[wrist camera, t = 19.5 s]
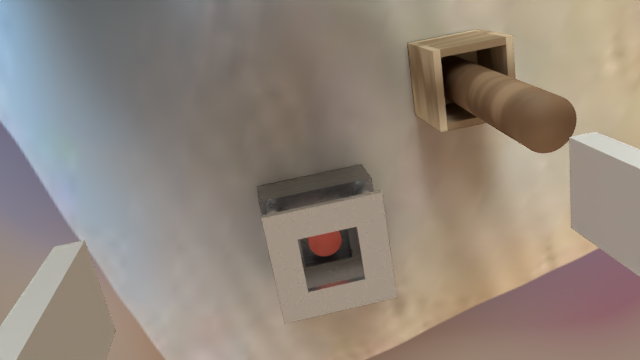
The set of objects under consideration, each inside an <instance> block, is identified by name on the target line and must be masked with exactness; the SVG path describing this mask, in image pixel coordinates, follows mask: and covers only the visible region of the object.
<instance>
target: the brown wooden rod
mask: <svg viewBox="0 0 640 360" xmlns="http://www.w3.org/2000/svg"><path fill="white" fill-rule="evenodd" d="M441 66H442V76H443V86H444V97H445V98H447V99H449V100H450V101H452V102H454V103H455V104H457V105H458V106H460V107H462V108H463V109H465V110H467V111H468V112H470V113H472V114H473V115H475V116H476V117H478V118H480V119H481V120H483V121H485V122H486V123H488V124H490V125H491V126H493V127H494V128H496V129H498V130H499V131H501V132H503V133H504V134H506V135H507V136H509V137H511V138H512V139H514V140H516V141H517V142H519V143H521V144H522V145H524V146H525V147H527V148H529V149H530V150H532V151H534V152H538V153H549V152H553V151H555V150H557V149H559V148H561V147H562V146H563V145H564V144H566V143H567V141H568V140H569V137H571V136H572V134H573V132H574V130H575V126H576V113H575V110H574V107H573V106H572V104H571V103H570V102H569V101H568V100H567V99H565V98H563V97H561V96H558V95H556V94H553V93H550V92H548V91H545V90H543V89H540V88H537V87H535V86H532V85H530V84H527V83H524V82H522V81H519V80H517V79H514V78H512V77H509V76H506V75H504V74H501V73H499V72H496V71H493V70H491V69H488V68H486V67H483V66H480V65H478V64H475V63H473V62H470V61H467V60H465V59H462V58H460V57H457V56H452V55H450V56H445V57H442V58H441Z"/></svg>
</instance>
